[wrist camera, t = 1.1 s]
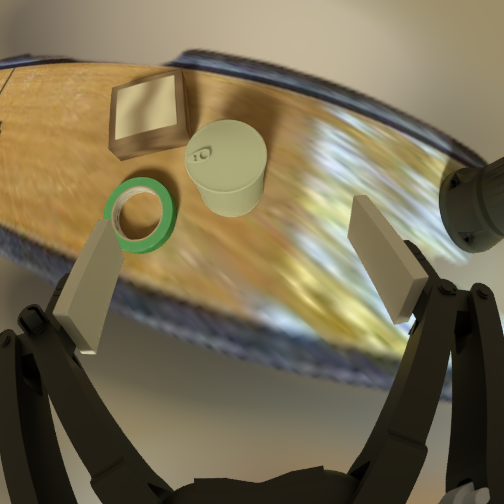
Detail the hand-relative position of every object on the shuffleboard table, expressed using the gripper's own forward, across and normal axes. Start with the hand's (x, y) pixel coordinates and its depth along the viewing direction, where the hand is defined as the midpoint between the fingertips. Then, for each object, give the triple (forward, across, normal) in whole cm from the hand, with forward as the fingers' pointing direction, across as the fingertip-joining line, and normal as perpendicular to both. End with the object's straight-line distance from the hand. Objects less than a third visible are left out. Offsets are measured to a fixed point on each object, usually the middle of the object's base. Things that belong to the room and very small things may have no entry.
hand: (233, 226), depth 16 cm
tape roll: (+25, -14, -13) cm, 31 cm away
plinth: (+36, -12, -1) cm, 38 cm away
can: (+27, 0, -10) cm, 29 cm away
